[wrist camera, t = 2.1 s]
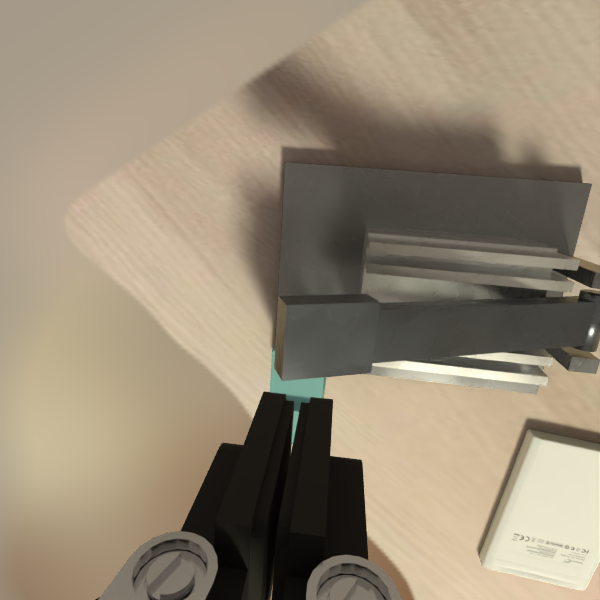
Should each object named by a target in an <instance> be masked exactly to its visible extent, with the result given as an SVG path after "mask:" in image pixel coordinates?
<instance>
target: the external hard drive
mask: <svg viewBox="0 0 600 600" xmlns="http://www.w3.org/2000/svg"><path fill="white" fill-rule="evenodd" d="M479 558H480V561H481V564H482V566H483V567H485V568H487V569H490V570H495V571H499V572H503V573H507V574H512V575H516V576H521V577H525V578H529V579H533V580H538V581H542V582H546V583H550V584H554V585H559V586H563V587H567V588H571V589H575V590H585V589H586V588H587V586H588V584H589V582H590V580H591V577H592V576H593V574H594V572H595V570H596V568H597V566H598V564H599V562H600V444H598V443H593V442H588V441H584V440H579V439H574V438H570V437H565V436H560V435H555V434H551V433H546V432H541V431H537V430H532V429H528V430H527V432H526V435H525V438H524V440H523V443H522V445H521V448H520V450H519V453H518V456H517V459H516V461H515V464H514V466H513V469H512V472H511V474H510V477H509V479H508V482H507V484H506V487H505V490H504V492H503V495H502V497H501V500H500V502H499V505H498V508H497V510H496V513H495V515H494V518H493V521H492V523H491V526H490V528H489V531H488V534H487V536H486V539H485V542H484V544H483V546H482V549H481V551H480V554H479Z"/></svg>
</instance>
